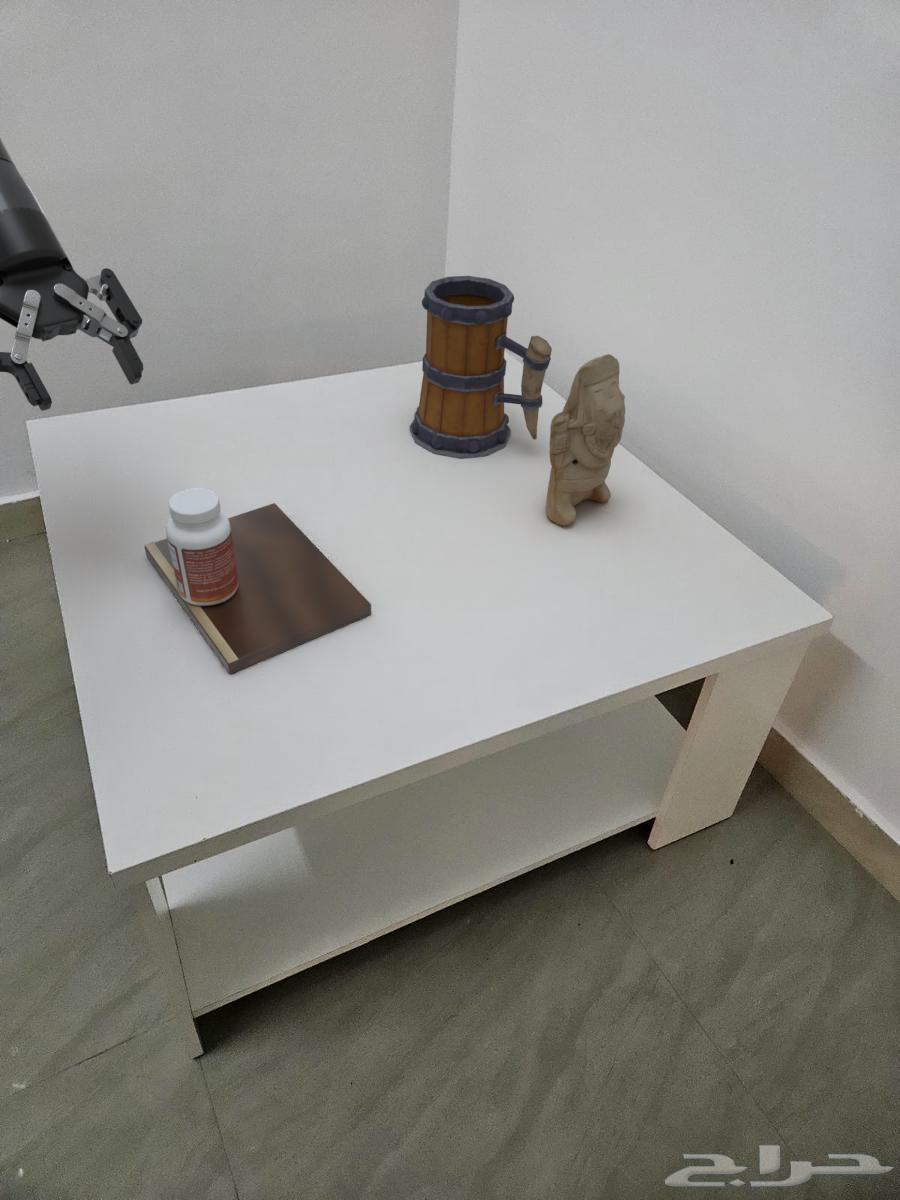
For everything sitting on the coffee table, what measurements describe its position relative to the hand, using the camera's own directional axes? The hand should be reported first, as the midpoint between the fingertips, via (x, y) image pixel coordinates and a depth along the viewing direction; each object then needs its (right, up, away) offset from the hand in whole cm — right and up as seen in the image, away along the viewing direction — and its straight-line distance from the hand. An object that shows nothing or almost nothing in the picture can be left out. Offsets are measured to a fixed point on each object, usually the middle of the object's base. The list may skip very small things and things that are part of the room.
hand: (93, 393), depth 75 cm
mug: (+36, +4, +41) cm, 55 cm away
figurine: (+49, -8, +28) cm, 57 cm away
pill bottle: (+7, -18, +11) cm, 22 cm away
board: (+12, -17, +14) cm, 25 cm away
